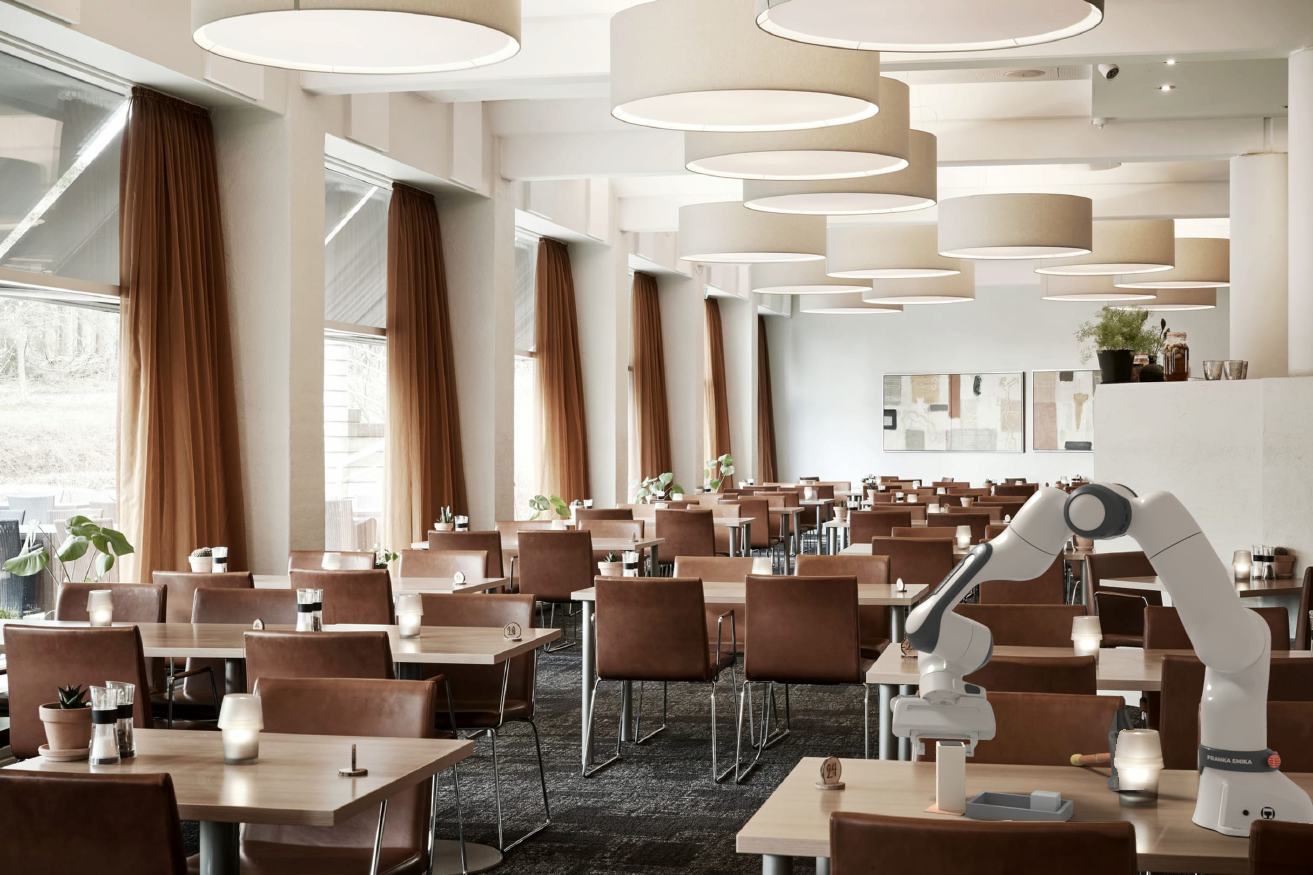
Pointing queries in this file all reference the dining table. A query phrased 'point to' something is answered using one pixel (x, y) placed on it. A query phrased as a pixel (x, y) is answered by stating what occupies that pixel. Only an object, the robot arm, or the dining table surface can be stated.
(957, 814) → the pad
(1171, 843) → the dining table surface
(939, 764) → the white box
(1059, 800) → the grey block
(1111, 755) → the hammer
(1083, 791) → the dining table surface
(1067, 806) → the parts tray
